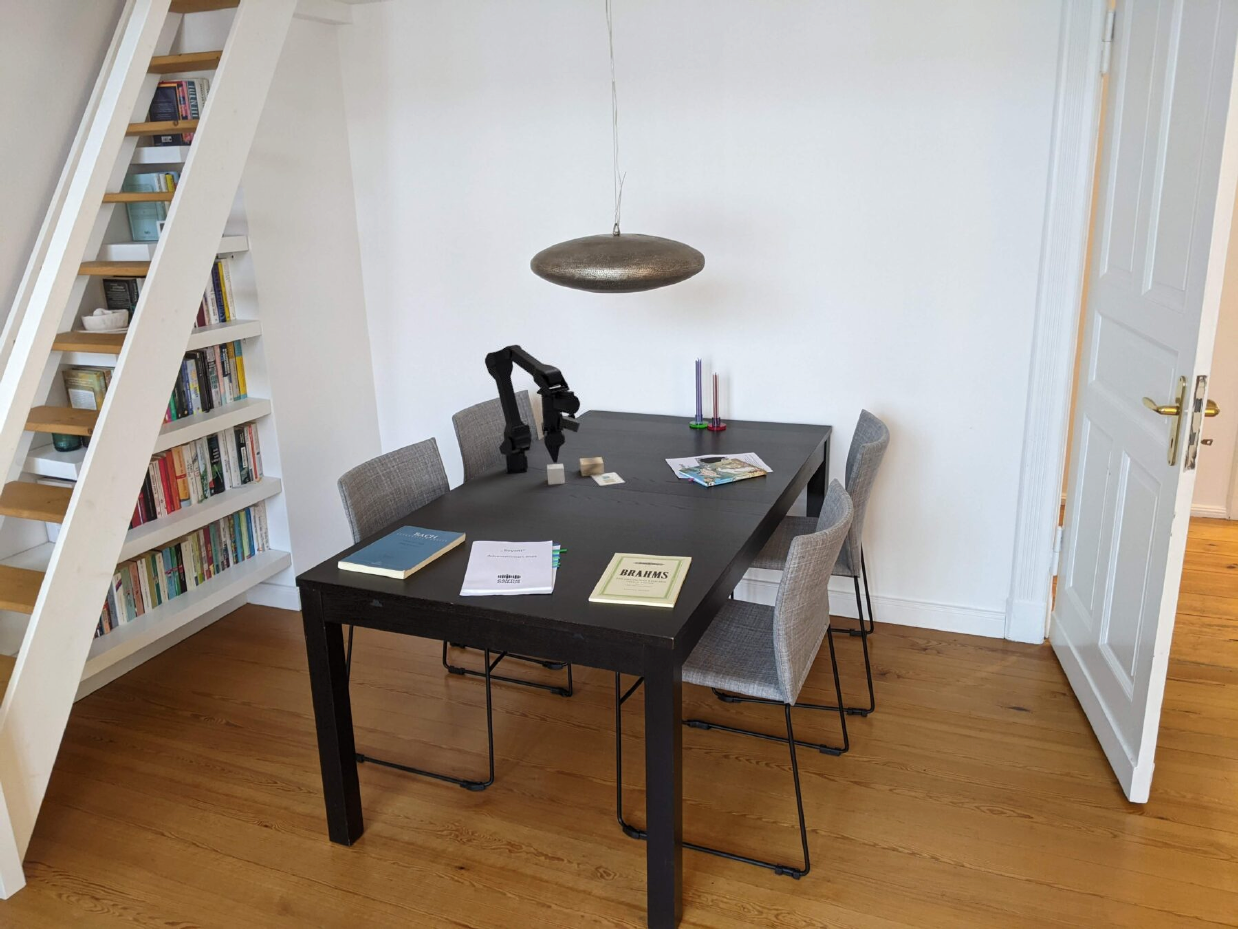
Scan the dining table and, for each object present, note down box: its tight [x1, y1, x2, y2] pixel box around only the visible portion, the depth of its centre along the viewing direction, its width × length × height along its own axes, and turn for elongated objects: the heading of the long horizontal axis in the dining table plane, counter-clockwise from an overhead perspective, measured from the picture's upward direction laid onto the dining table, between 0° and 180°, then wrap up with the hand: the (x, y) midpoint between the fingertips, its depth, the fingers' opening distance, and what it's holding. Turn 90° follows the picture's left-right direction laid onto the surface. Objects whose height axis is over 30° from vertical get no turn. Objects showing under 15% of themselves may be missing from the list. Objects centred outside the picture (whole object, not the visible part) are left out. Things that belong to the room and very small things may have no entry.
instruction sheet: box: [590, 472, 626, 487], centre depth 296 cm, size 8×11×1 cm
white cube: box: [546, 463, 566, 485], centre depth 296 cm, size 5×5×5 cm
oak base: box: [579, 456, 605, 477], centre depth 304 cm, size 7×7×4 cm
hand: (554, 458), depth 294 cm, fingers open, 9 cm apart
